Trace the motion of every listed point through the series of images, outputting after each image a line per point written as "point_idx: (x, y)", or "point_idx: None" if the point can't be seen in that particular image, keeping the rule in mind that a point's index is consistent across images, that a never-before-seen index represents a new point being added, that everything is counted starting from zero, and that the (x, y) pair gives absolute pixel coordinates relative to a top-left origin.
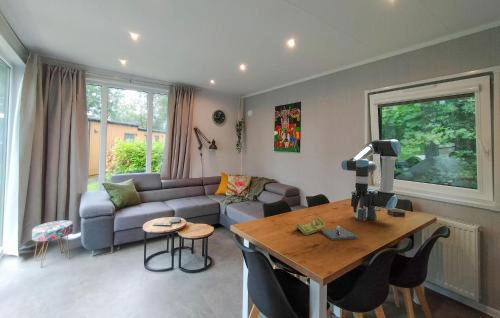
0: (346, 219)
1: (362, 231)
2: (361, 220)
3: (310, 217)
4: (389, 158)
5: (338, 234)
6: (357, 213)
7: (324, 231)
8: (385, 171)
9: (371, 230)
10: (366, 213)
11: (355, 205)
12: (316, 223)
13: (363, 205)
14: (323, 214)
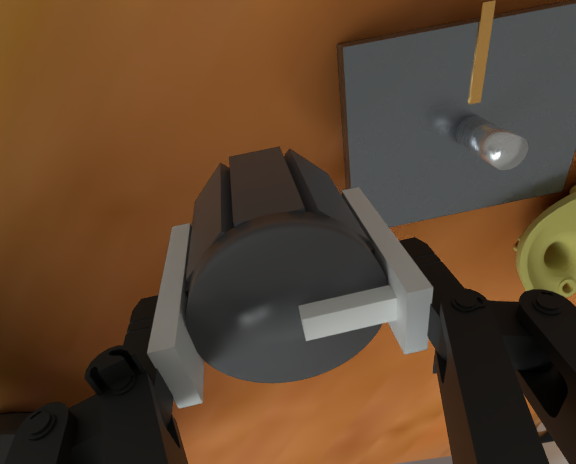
0: (202, 403)
1: (193, 205)
2: (294, 153)
3: (416, 404)
4: None
5: (497, 91)
6: (374, 224)
7: (554, 164)
8: None
9: (95, 229)
10: (182, 257)
11: (497, 341)
12: (554, 268)
13: None
14: (309, 449)
